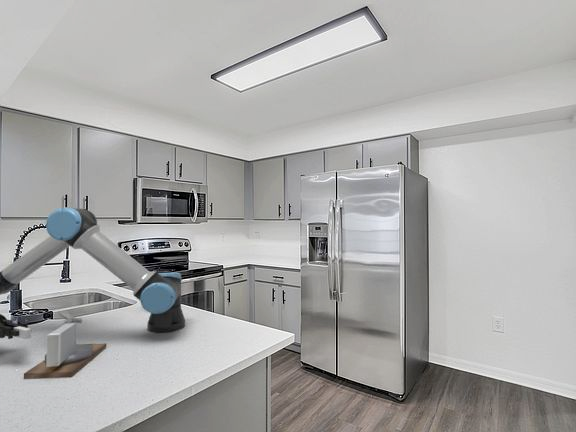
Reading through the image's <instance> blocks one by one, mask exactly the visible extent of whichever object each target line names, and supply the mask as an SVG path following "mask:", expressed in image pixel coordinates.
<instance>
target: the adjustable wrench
mask: <svg viewBox="0 0 576 432" xmlns="http://www.w3.org/2000/svg"><path fill="white" fill-rule="evenodd" d="M57 314H58V315H59V316H60V317H62V318H63V319H64V320H65V322H64V324H67V323H76V324H81V323H83V318H82V317H74V316H73V315H71V314H69V313H68V312H67V311H66V310H59V311H58V312H57Z"/></svg>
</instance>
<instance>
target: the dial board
mask: <svg viewBox="0 0 576 432" xmlns="http://www.w3.org/2000/svg"><path fill="white" fill-rule="evenodd" d="M86 344H87V345H91V346H93V354H92V355H91V356H90V357H89V358H87V359H85V360H82V361H79V362H76V363H72V364H67V365H59V366H51V367H46V363H45V359H44V360H42V361H41V362H39V363H38V364H36V365H35V366H33V367H31V368H30V369H28V370H27V371H25V372H24V373H23V379H24V380H27V379H28V380H29V379H51V378H52V379H55V378H56V379H58V378H73V376H75V375H76V374H77V373H78V372H80V371H81V370H82V369H83V368H84V367H86V366H87V365H88V364H89V363H90V362H91V361H92V360H94V359H95V358H97V356H98V355H100V354H101V353H102V352H103V351H105V350H106V349H107V343H86Z"/></svg>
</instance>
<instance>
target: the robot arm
mask: <svg viewBox="0 0 576 432" xmlns="http://www.w3.org/2000/svg"><path fill="white" fill-rule="evenodd" d="M45 222H46V223H45V229H46V231H47V233H48V235H49V236H48V237H47V238H45V239H44V240H43V241H41V242H40V243H38V244H37V245H36V246H34V247H32V248H31V249H30V250H28V251H27V252H26V253H24V254H23V255H22V256H20V257H19V258H17V259H16V260H14V261H13V262H11V263H10V264H8V266H6V267H4V269H2V270H0V295H4V294H5V295H6V294H8V293H9V292H11V291H14V290H15V288H16V287H17V285H18V284H20V283H21V282H22V281H23V280H25V279H26V278H28V277H29V276H30V275H33V273H35V272H36V271H38V270H39V269H40V268H42V267H43V266H44V265H46V264H47V263H49V262H50V261H51V260H53V259H54V258H55V257H57V256H59V255H60V254H61V253H62V252H64V251H66V250H67V249H68V248H70V247H71V248H72V249H74V250H80V249H81V250H82V251H84V252H85V253H86V254H88V256H90V257H91V258H93V259H94V260H95V261H96V262H97V263H99V264H100V265H101V266H103V267H104V268H105V269H106V270H108V271H109V272H110V273H112V275H114V276H115V277H117V278H118V279H119V280H121V282H123V283H124V284H126V285H127V286H128V287H130V289H131V290H132V292H133V293H132V295H133V297H135V298H136V299H137V300H139V301H140V305H141V306H142V308H143V309H144V311H146V312H147V313H150V315H149V318H148V321H147V327H146V329H147V331H149V332H154V333H168V332H174V331H177V330H178V331H179V330H181V329H183V328H184V327H185V326H186V318H185V316H184V313H183V309H182V280H183V279H182V274H181V273H179V272H158V271H154V270H153V271H149V270H148V269H147V268H146V267H144V266H143V265H142V264H141V263H139V262H138V261H136V259H135V258H133V257H132V256H131V255H130V254H128V253H127V252H126V251H125V250H123V249H122V248H121V247H119V246H118V245H117V244H116V243H114V241H112V240H111V239H110V238H109V237H107V236H106V235H105V234H103V233H102V232H101V231H100V229H101V228H100V225H99V224H98V220H97V217H96V215H95V214H94V212H92V211H90V210H88V209H86V208H75V207H60V208H57V209H55V210H54V211H52V212H51V213H50V214H49V215H48V217H47V218H46V221H45ZM28 326H29V324H28V322H26V321H24V320H23V318H22V317H19V318H18V319H16V320H13V319H7V317H6V316H4V315H3V314H1V313H0V339H5V338H6V337H7V340H10V339H11V340H12V339H14V337H16V338H20V339H22V340H28V339H31V338H32V328H29V327H28Z"/></svg>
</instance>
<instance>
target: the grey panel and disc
mask: <svg viewBox="0 0 576 432" xmlns="http://www.w3.org/2000/svg"><path fill="white" fill-rule="evenodd" d="M76 334H77V322H74V323H67V324H65V323H64V324H63V325H61V326H60V327H58V328H57V329H55V330H54V331H51V332H50V333H48V334H47V335H46V354H44V360H45V363H46V367H51V366H59V365H67V364H72V363H76V362H79V361H82V360H85V359H87V358H89V357H90V356H91V355H92V354H93V346H91V345H87V344H88V343H78V344H77V343H76V342H77V335H76Z"/></svg>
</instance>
